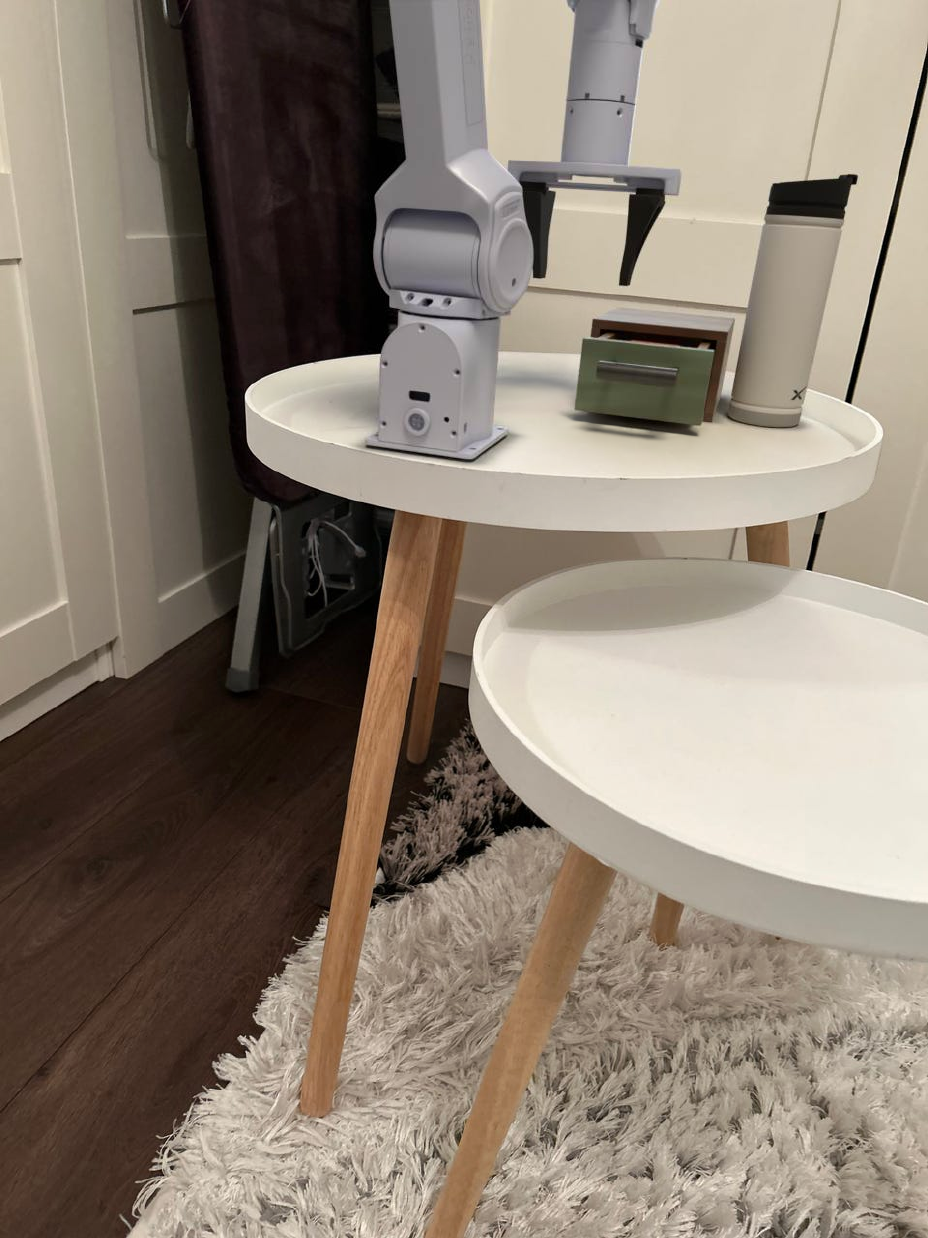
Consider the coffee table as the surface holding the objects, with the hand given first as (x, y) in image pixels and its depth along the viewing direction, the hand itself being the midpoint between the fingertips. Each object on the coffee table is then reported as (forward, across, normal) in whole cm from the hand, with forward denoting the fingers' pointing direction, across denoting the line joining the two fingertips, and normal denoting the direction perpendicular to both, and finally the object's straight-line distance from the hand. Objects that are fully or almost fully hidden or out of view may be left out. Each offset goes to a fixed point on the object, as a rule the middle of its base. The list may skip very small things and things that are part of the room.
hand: (581, 281), depth 78 cm
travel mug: (+11, -18, -2) cm, 21 cm away
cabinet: (+10, -8, -5) cm, 14 cm away
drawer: (+10, -7, +5) cm, 13 cm away
